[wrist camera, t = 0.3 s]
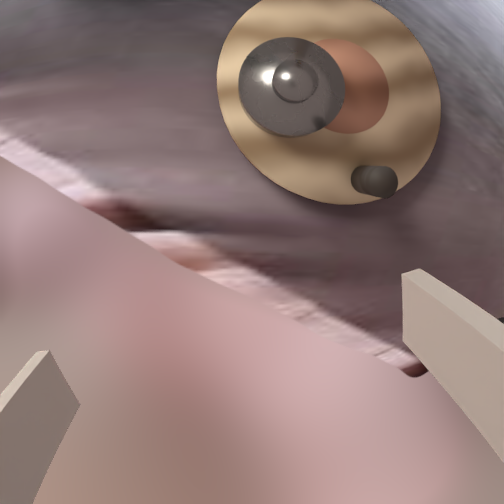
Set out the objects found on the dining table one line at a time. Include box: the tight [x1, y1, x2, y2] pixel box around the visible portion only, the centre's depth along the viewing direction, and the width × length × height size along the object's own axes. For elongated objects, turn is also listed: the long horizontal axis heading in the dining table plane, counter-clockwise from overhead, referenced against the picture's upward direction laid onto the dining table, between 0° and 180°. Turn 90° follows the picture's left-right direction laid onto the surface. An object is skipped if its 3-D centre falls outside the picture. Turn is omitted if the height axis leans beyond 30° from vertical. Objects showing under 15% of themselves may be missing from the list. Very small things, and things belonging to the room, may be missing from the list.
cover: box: [238, 37, 345, 138], centre depth 27 cm, size 10×10×4 cm
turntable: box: [217, 0, 441, 204], centre depth 27 cm, size 26×26×7 cm
